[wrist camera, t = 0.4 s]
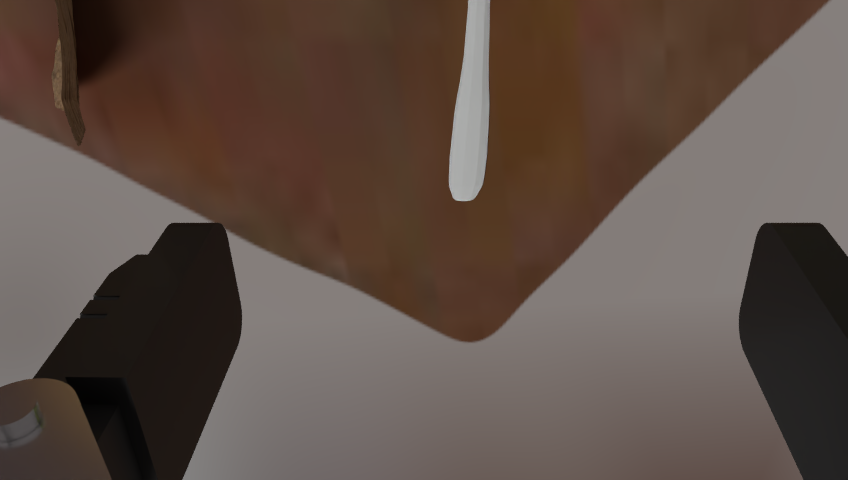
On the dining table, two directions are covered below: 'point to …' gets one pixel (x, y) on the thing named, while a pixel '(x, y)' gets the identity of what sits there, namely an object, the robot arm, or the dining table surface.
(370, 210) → the dining table surface
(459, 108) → the butter knife
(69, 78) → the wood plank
